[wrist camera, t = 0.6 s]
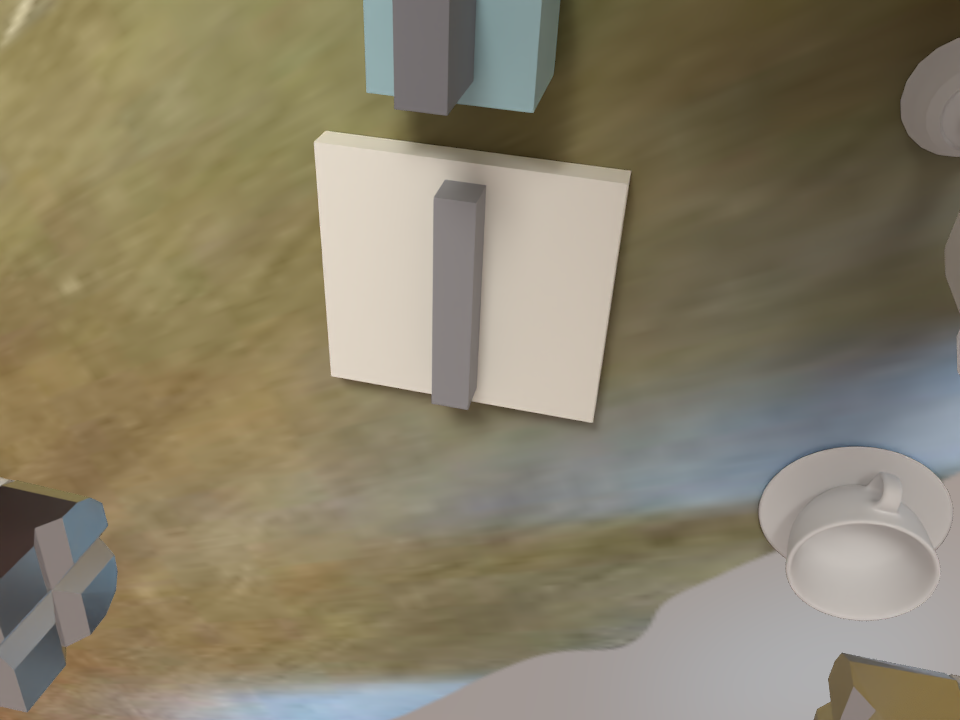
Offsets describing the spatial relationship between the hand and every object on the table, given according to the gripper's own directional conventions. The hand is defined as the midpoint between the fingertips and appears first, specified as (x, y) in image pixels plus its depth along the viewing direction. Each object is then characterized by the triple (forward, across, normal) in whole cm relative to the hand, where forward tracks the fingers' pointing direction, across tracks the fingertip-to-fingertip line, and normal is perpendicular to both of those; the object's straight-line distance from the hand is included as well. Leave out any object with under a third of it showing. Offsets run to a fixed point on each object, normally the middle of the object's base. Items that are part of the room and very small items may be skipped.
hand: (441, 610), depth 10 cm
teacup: (+36, -15, +24) cm, 46 cm away
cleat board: (+34, +8, +12) cm, 37 cm away
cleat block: (+33, +8, -2) cm, 34 cm away
